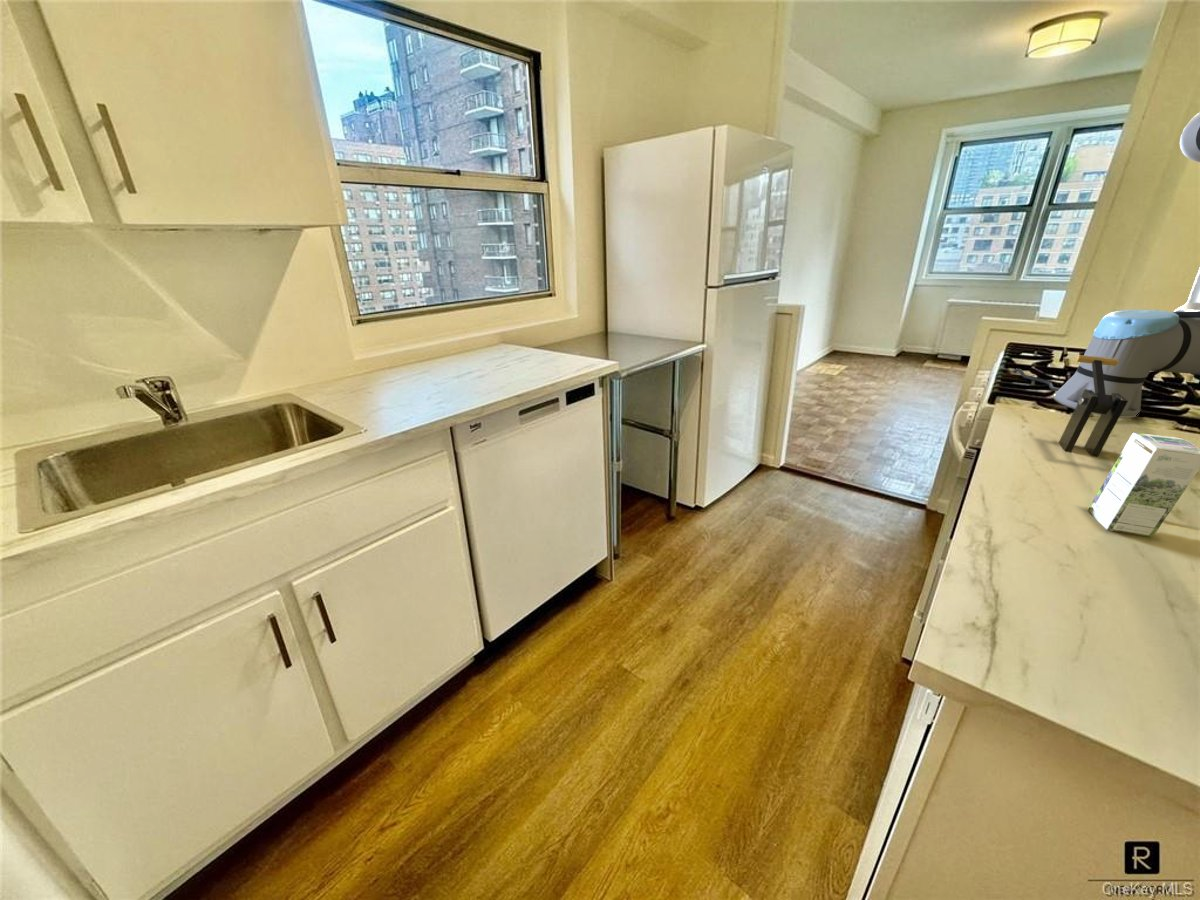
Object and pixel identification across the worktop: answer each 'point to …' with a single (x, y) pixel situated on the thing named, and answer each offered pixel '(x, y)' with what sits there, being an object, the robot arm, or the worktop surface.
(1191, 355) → the robot arm
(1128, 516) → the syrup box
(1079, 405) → the bracket
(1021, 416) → the worktop surface
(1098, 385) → the tap lever
